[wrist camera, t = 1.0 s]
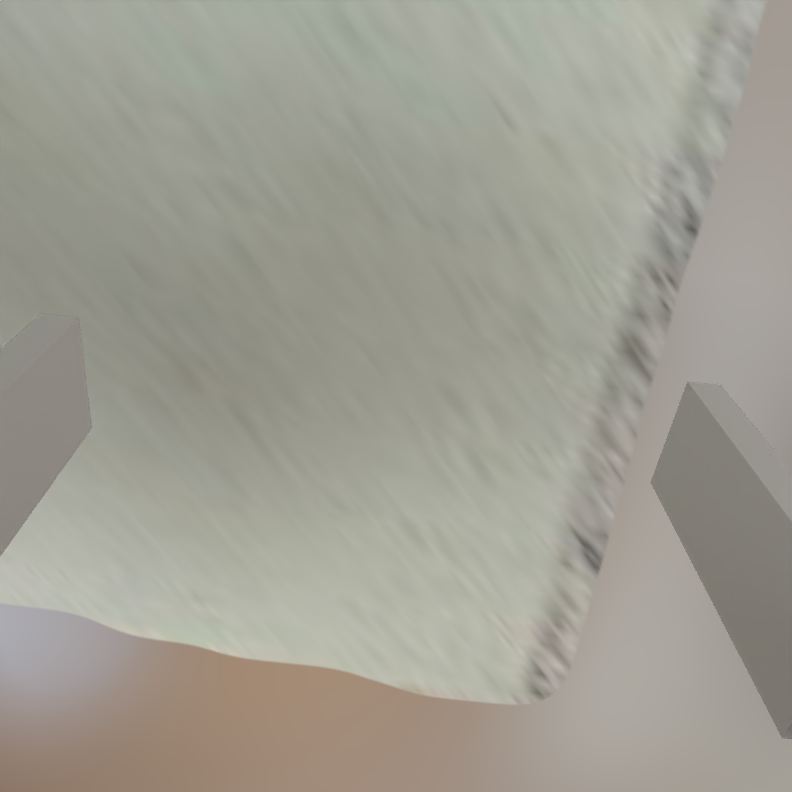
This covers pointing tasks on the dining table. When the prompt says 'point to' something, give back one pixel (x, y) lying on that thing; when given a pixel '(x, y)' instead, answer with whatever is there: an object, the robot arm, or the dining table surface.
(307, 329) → the dining table surface
